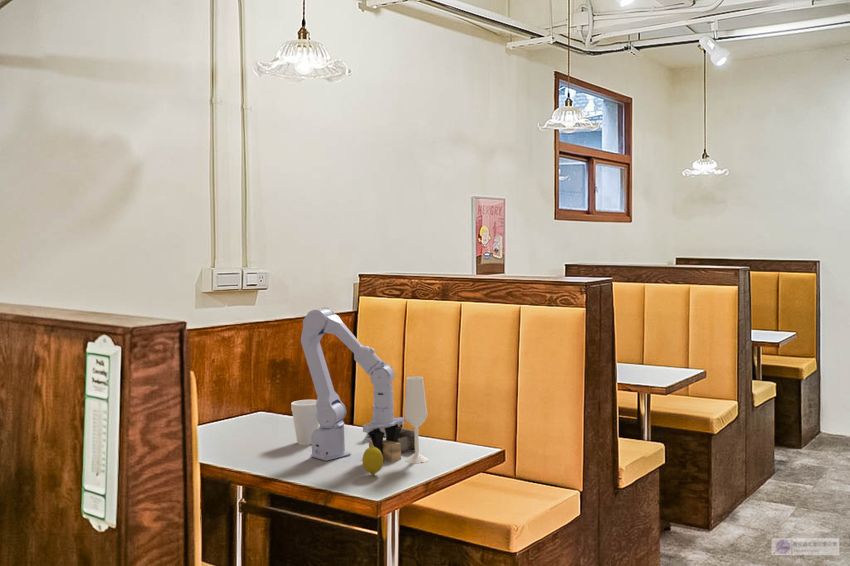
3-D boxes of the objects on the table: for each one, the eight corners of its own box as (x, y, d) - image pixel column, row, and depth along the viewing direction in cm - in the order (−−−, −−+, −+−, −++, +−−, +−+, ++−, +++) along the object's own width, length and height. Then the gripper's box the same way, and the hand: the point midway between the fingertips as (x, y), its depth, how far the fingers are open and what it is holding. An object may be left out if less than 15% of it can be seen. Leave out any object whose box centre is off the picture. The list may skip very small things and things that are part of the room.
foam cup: (325, 444, 246) (324, 403, 246) (296, 447, 243) (295, 406, 242) (318, 437, 255) (316, 398, 255) (290, 441, 252) (288, 401, 251)
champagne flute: (402, 458, 227) (400, 377, 226) (423, 456, 229) (421, 375, 228) (410, 464, 220) (407, 380, 219) (432, 461, 223) (430, 378, 222)
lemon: (383, 471, 214) (382, 443, 213) (383, 477, 208) (382, 448, 208) (363, 472, 214) (362, 443, 213) (362, 478, 208) (361, 448, 208)
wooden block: (401, 459, 227) (400, 443, 226) (392, 462, 224) (391, 445, 224) (378, 453, 234) (377, 438, 233) (369, 456, 231) (368, 440, 231)
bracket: (403, 454, 231) (402, 434, 231) (381, 449, 238) (381, 429, 238) (417, 450, 235) (417, 431, 235) (396, 445, 242) (395, 426, 242)
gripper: (373, 412, 220) (374, 459, 221) (411, 404, 230) (412, 450, 231) (357, 409, 226) (359, 455, 226) (395, 401, 235) (396, 446, 236)
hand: (384, 452), depth 229 cm, fingers open, 4 cm apart
